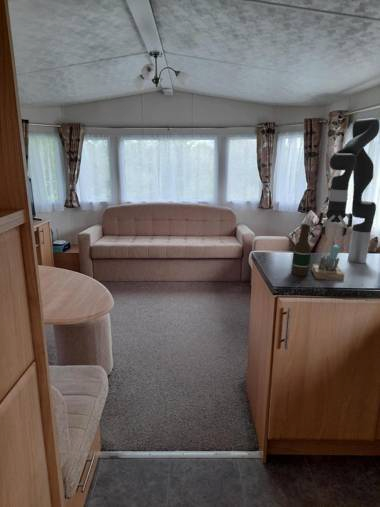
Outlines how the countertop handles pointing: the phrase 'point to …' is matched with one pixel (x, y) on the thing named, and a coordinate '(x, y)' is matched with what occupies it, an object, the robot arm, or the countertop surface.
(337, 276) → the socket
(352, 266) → the countertop surface
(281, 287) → the countertop surface
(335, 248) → the peg
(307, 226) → the beer bottle
